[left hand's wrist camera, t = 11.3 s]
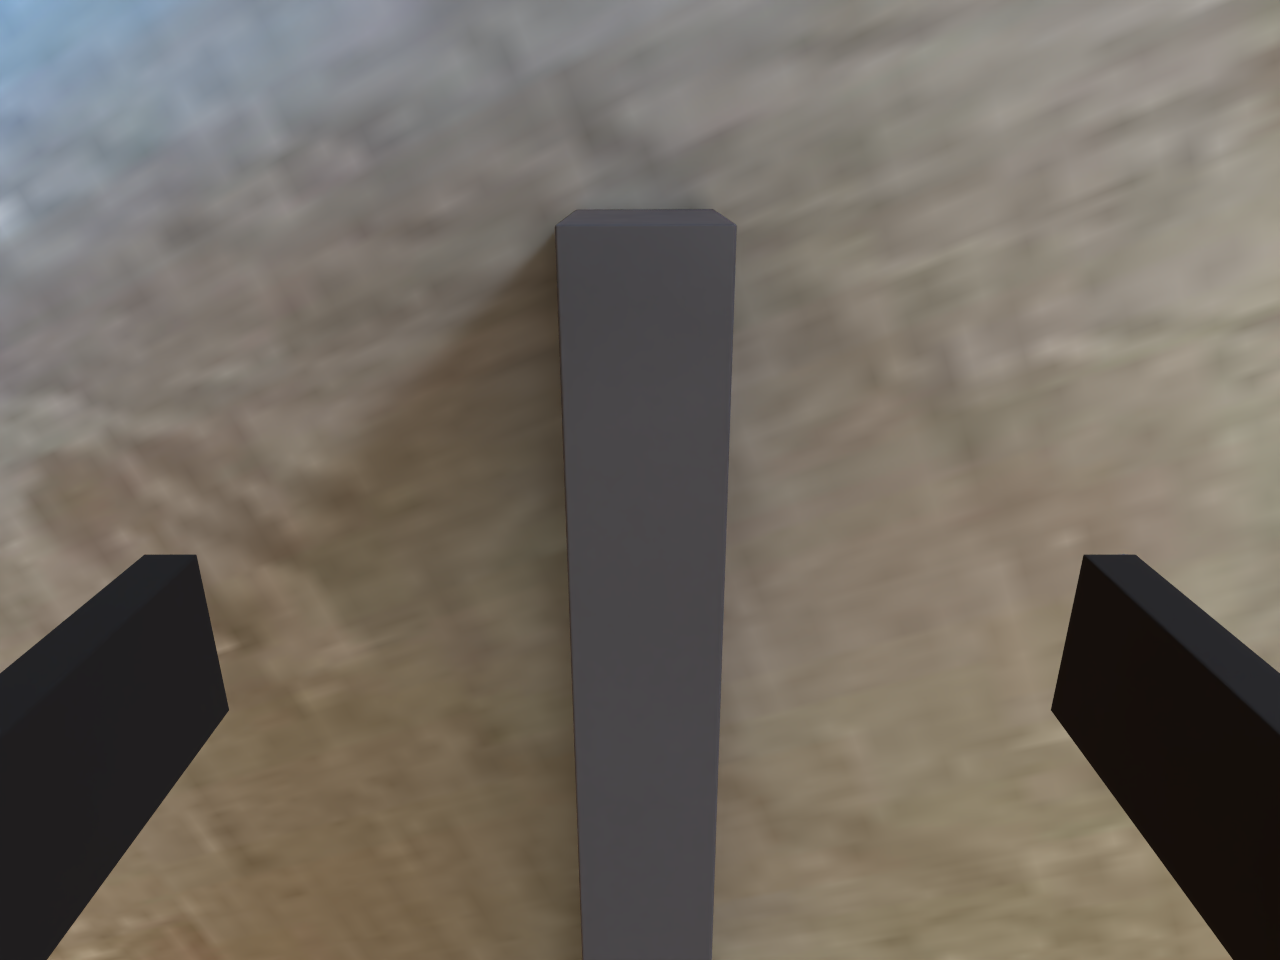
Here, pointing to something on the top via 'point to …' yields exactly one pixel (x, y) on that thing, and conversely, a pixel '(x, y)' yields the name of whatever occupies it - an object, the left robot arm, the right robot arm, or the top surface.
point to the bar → (646, 564)
